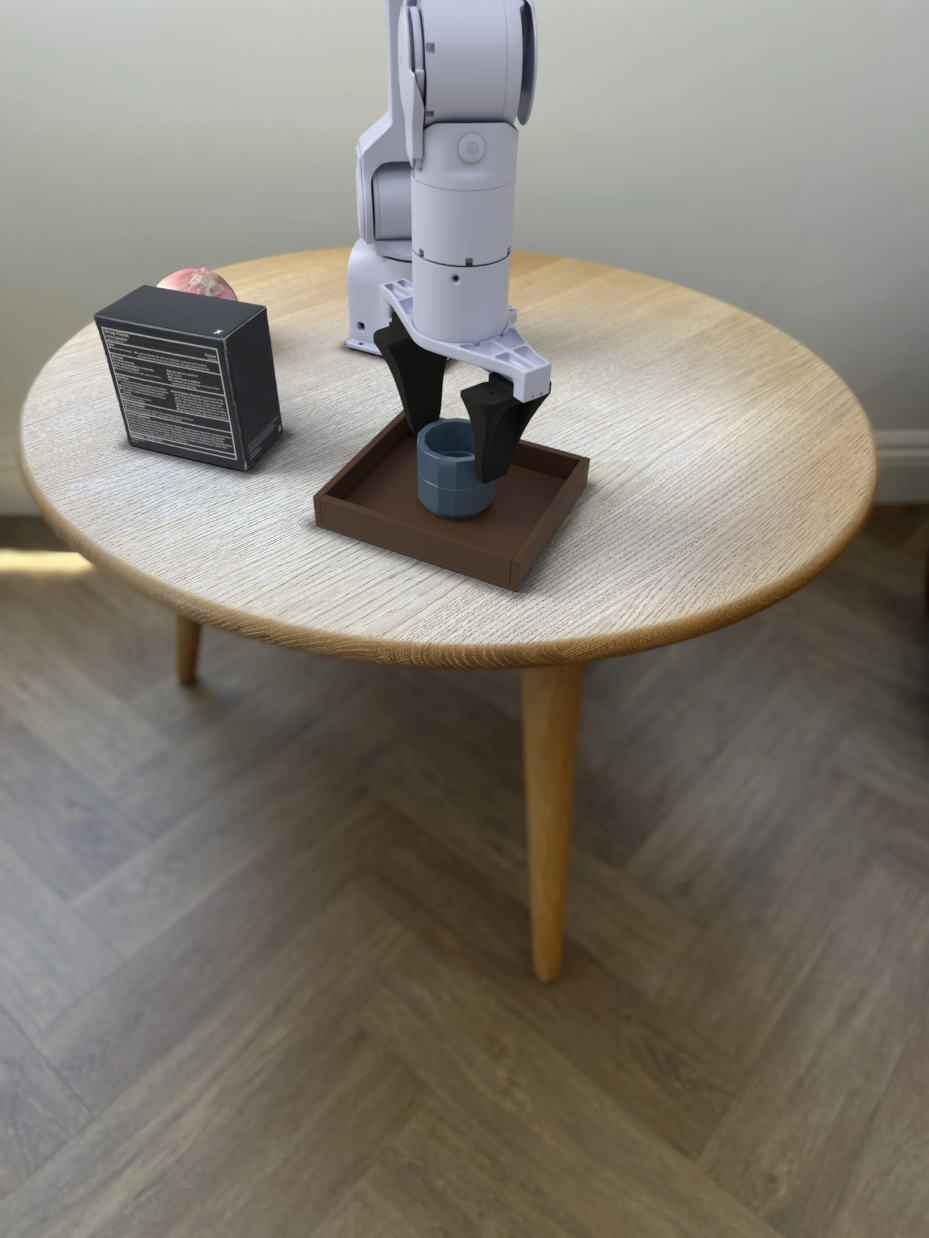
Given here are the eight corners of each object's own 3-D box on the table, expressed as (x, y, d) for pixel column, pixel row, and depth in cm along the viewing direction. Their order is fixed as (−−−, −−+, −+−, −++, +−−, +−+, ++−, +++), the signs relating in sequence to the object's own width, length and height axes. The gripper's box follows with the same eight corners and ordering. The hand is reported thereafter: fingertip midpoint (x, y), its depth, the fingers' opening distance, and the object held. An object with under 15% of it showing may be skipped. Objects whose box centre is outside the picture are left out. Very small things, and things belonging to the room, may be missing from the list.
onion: (201, 377, 75) (184, 295, 70) (137, 353, 78) (117, 273, 73) (263, 342, 80) (252, 263, 75) (201, 320, 82) (186, 243, 78)
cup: (402, 494, 62) (400, 434, 59) (463, 469, 65) (464, 409, 61) (448, 532, 59) (449, 470, 56) (509, 504, 62) (514, 443, 58)
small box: (288, 431, 69) (271, 302, 62) (247, 474, 64) (224, 341, 57) (173, 405, 71) (143, 278, 64) (125, 446, 67) (88, 314, 59)
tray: (315, 525, 60) (312, 496, 58) (405, 435, 69) (405, 407, 67) (517, 592, 56) (520, 562, 54) (586, 486, 64) (590, 457, 63)
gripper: (600, 273, 47) (572, 480, 57) (440, 198, 56) (439, 390, 65) (502, 305, 44) (490, 518, 54) (347, 220, 52) (360, 419, 62)
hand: (456, 450), depth 59 cm, fingers open, 7 cm apart
